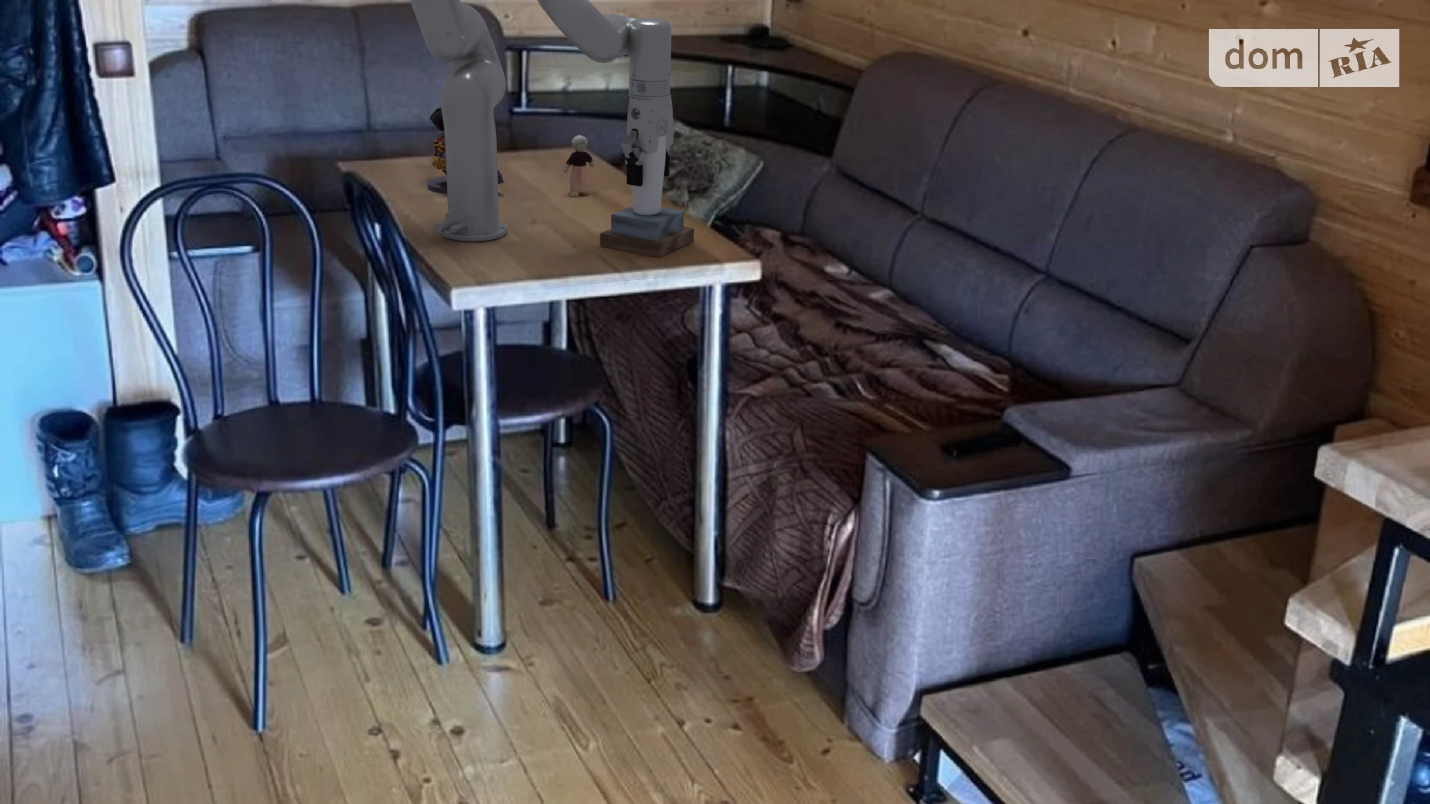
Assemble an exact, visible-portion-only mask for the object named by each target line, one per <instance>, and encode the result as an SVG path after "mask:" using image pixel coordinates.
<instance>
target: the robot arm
mask: <svg viewBox="0 0 1430 804" xmlns="http://www.w3.org/2000/svg"><path fill="white" fill-rule="evenodd" d="M409 1H410V3H411V7H412V10H413V12H414V15H415V18H416V20H417V23H418V26H419V29H420V32H421V34H422V37H423V40H424V42H425V45H426V47H427V49H428V51H429V53H430V54H431V55H432V56H433V57H434V58H435V59H436V60H437V59H438V60H439V61H442V62H445V63H447V62H448V64H449V67H450V69H451V73H449V74H448V76H447V77H446V78H445V79H444V82H443V84H442V86H441V89H440V107H441V109H442V116H443V122H444V131H443V132H445V148H446V168H447V194H446V195H447V212H446V213H445V219H443V221H439V222H437V223H434V225H433V229H434V231H435V232H436V233H437V234H441V235H442V236H443V237H444V238H447V239H450V240H453V241H454V240H455V241H461V242H462V241H463V242H486V241H493V240H496V239H500V238H503V237H504V236H506V234H508V226H507V225H506V224H505V223H503V222H501V221H500V219H499V216H500V215H499V184H498V170H499V169H498V151H497V150H498V149H497V147H498V146H497V144H498V143H497V132H496V131H497V130H496V122H495V116H494V115H495V114H494V108H495V107H496V106H497V105H499V103H500V102H501V101H502V99H503V98H504V96H505V93H506V90H507V83H506V81H507V80H506V77H505V73H504V70H503V65H502V64H501V61H500V58H499V55H498V53H497V50H496V47H495V45H494V41H493V39H492V36H491V34H490V31H489V28H488V26H487V23H486V21H485V20H484V18H483V16H482V15H481V14H480V13H479V12H478V10H477V9H475V8H474V7H473V6H471V5H469V4H466V3H462V1H461V0H409ZM536 1H537V2H538V5H539V6H540V8H542V10H543V11H544V12H545V14H546V15H547V16H548V18H549V19H550V20H551V21H552V22H553V24H554V25H555V26H556V27H557V28H558V30H559V31H560V32H561V33H562V34H563V35H564V36H565V37H566V38H567V40H569V41H570V42H571V43H572V44H573V45H574V46H575V47H576V48H577V49H578V50H580V52H581V53H582V54H583V55H585V56H586V57H587V58H589V59H590V60H592V61H594V62H596V63H601V64H608V63H611V62H614V61H615V60H617V59H618V58H619V57H621V56H623V55H628V57H629V58H628V59H629V61H628V62H629V63H628V64H629V68H628V69H629V73H628V74H629V75H628V96H629V99H628V101H629V102H628V108H627V118H626V119H627V120H626V137H625V139H624V140H623V141H622V143H621V148H622V153H623V158H624V164H626V185H628V186H632V185H633V186H639V187H640V186H642V185H643V165H640V164H641V162H642V159H643V157H644V154H645V152H646V153H647V154H652V153H654V152H656V151H657V149H658V138H659V137H660V136H663V135H665V138H666V158H665V168H664V177H668V176H670V165H671V162H670V159H671V154H672V146H673V144H674V135H675V131H676V129H675V127H674V112H673V111H674V110H673V101H672V95H671V66H672V65H671V60H672V57H671V56H672V26H671V24H670V22H669V21H668V20H666V19H663V18H658V17H632V16H626V15H621V14H616V13H605V14H603V13H602V12H601V11H599V9H598V8H597V7H596V6H595V5H594V4H593V3H592V2H591V1H590V0H536ZM637 138H638V141H639V144H640V147H641V148H636V147H635V141H636V140H637ZM634 153H638V156H637V157H636V155H635V154H634ZM497 169H498V170H497Z"/></svg>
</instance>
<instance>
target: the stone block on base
mask: <svg viewBox="0 0 1430 804" xmlns="http://www.w3.org/2000/svg"><path fill="white" fill-rule="evenodd" d="M684 213H685V212H684V210H679V209H673V208H667V207H662V206H661V211H660V213H658V214H656V215H648V216H647V215H639V214H636V213H635V212H634V211H633V205H631V206H629V207H627V208H624V209H622V210H619V211H616V212H614V213H611V214H610V228H609V229H607V230H604V231H602V232H600V233H599V246H600V247H603V248H608V249H614V250H618V251H624V252H630V253H634V254H640V255H645V256H651V257H656V258H661V257H663V256H665V255H667V254H669V253H671V252H674V251H676V250H679V249H680V248H682V247H685V246H686V245H689V244H691V243H693V242H694V241H695V239H694V238H695V228H693V227H686V226H684V223H685V221H684V220H685V219H684V216H685V215H684Z"/></svg>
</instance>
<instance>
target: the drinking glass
mask: <svg viewBox="0 0 1430 804" xmlns="http://www.w3.org/2000/svg"><path fill="white" fill-rule="evenodd" d="M635 147H636V148H641V147H640V144H639V141H638V138H637V140H636V141H635ZM634 154H635V155H636V157H637V156H638V153H634ZM665 158H666V138H665V135H663V136H660V137H659V138H658V149H657V151H656V152H654V153H652V154H647V153H646V152H645V154H644V157H643V159H642V162H641V164H640V165H643V185H642V186H640V187H639V186H633V185H631V192H632V206H633V211H634V212H635V213H636V214H639V215H647V216H648V215H656V214H658V213H660V211H661V207H662V197H663V196H662V195H663V189H664V188H663V186H664V177H665V176H664V168H665Z"/></svg>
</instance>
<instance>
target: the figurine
mask: <svg viewBox="0 0 1430 804" xmlns="http://www.w3.org/2000/svg"><path fill="white" fill-rule="evenodd" d="M429 120H430V122H431V123H432V124H433V125H434V127H435V128H436V130H438V131H441V132H442V133H440V135H438V137H437V138H436V139H433V146H432V147H434V152H433V155H432V159H433V160H432V161H431V163H430V164H431V165H432V166H433V167H434V168H435V169H437V170H441V172H442V173H444V175H443V176H437V177H432V178H431V179H429V180H427V189H428V190H429V191H431V192H434V193H439V194H445V195H448V194H447V168H446V148H445V131H444V122H443V116H442V109H441V106H440V107H437V108H436V109H435V110H434V111H433V112H432V114H431V115H430V117H429ZM497 170H498V185H500V184H503V183H505V182H504V179H503V175H502V173H501V172H500V170H499V168H497Z"/></svg>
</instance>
